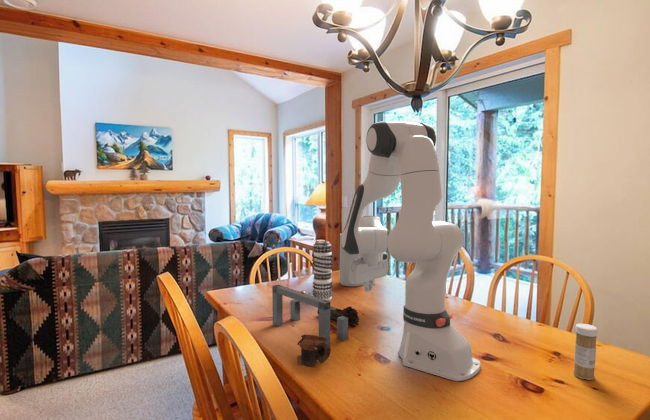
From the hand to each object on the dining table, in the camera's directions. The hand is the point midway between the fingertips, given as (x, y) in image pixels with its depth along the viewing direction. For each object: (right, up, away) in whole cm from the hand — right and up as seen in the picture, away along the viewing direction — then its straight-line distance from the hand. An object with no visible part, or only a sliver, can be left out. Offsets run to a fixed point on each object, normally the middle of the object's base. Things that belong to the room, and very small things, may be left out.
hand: (368, 290), depth 147 cm
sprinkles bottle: (+50, -11, -51) cm, 72 cm away
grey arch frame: (-26, -9, -25) cm, 37 cm away
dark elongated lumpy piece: (-12, -9, -11) cm, 18 cm away
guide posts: (-20, -9, -19) cm, 29 cm away
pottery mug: (-20, -11, -42) cm, 48 cm away
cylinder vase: (-4, -5, +39) cm, 39 cm away
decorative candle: (-18, -7, +15) cm, 25 cm away
